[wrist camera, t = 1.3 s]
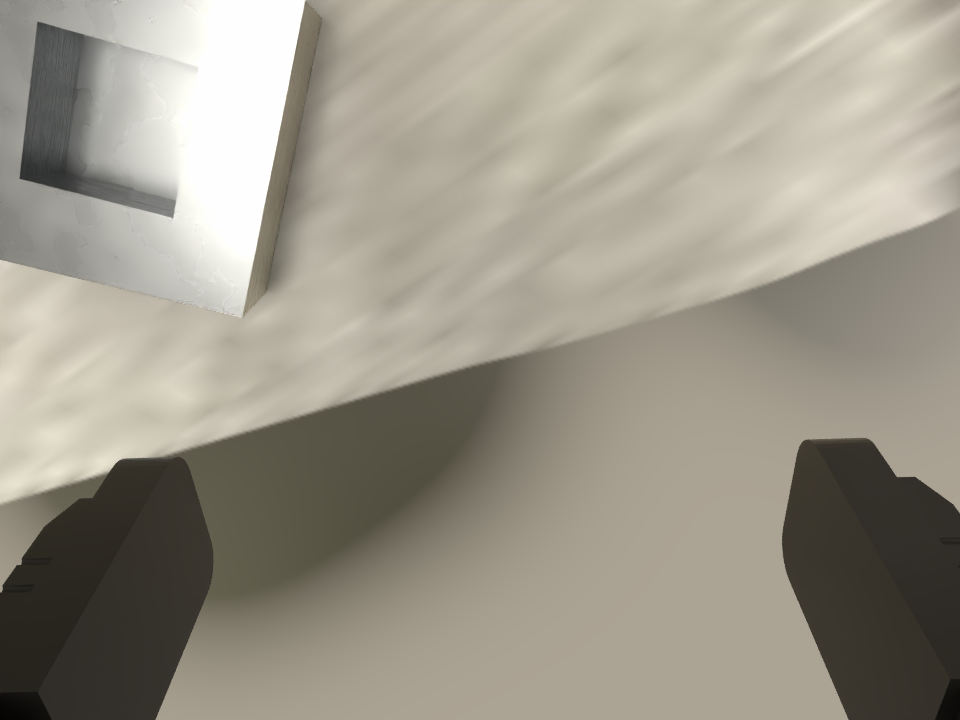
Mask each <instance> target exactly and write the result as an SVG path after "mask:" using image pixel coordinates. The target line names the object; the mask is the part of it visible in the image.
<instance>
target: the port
mask: <svg viewBox="0 0 960 720" xmlns="http://www.w3.org/2000/svg"><path fill="white" fill-rule="evenodd" d="M321 20H322V18H321V17H320V16H319V15H318V14H317V13H316V12H315V11H314V10H313V9H312V8H311V7H310V6H309V4H308V3H307V2H306V1H304V0H0V260H4V261H8V262H12V263H16V264H21V265H25V266H29V267H33V268H37V269H41V270H45V271H50V272H54V273H58V274H62V275H66V276H70V277H75V278H79V279H83V280H87V281H91V282H95V283H99V284H104V285H108V286H112V287H116V288H120V289H124V290H128V291H133V292H137V293H141V294H145V295H149V296H153V297H157V298H162V299H166V300H170V301H174V302H178V303H182V304H187V305H191V306H195V307H199V308H203V309H207V310H211V311H216V312H220V313H224V314H228V315H232V316H236V317H240V318H243V316H244V315H245V314H246V313H247V312H248V311H249V310H250V309H251V308H252V307H253V305H254V304H255V303H256V302H257V301H258V300H259V299H260V298H261V297H262V296H263V294H264V293H265V292H266V289H267V284H268V279H269V274H270V269H271V264H272V259H273V254H274V249H275V244H276V240H277V235H278V230H279V225H280V220H281V215H282V210H283V205H284V200H285V196H286V191H287V186H288V181H289V176H290V171H291V166H292V161H293V156H294V152H295V147H296V142H297V137H298V132H299V127H300V122H301V117H302V112H303V108H304V103H305V98H306V93H307V88H308V83H309V78H310V73H311V68H312V64H313V59H314V54H315V49H316V44H317V39H318V34H319V29H320V24H321Z"/></svg>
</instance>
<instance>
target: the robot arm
mask: <svg viewBox="0 0 960 720" xmlns="http://www.w3.org/2000/svg"><path fill="white" fill-rule="evenodd" d="M782 546H783V547H782V548H783V558H784V564H785V568H786V572H787V575H788V578H789V581H790V583H791V585H792V588H793V590H794V592H795V595H796V597H797V600H798V601H799V604H800V606H801V609H802V611H803V614H804V616H805V618H806V621H807V623H808V625H809V627H810V630H811V632H812V635H813V637H814V639H815V642H816V644H817V646H818V649H819V651H820V653H821V656H822V658H823V661H824V663H825V665H826V668H827V670H828V672H829V674H830V677H831V679H832V681H833V684H834V686H835V689H836V691H837V693H838V696H839V698H840V700H841V703H842V705H843V707H844V710H845V712H846V714H847V717H848V719H849V720H960V513H959V512H958V510H957V509H956V508H955V506H954V505H953V504H952V503H950V502H949V501H948V500H946V499H945V498H944V497H942V496H941V495H939V494H938V493H937V492H935V491H934V490H932V489H931V488H930V487H928V486H927V485H926V484H924V483H923V482H921V481H920V480H919V479H917V478H916V477H896V475H895V474H894V472H893V471H892V469H891V468H890V466H889V465H888V464H887V462H886V461H885V459H884V458H883V456H882V455H881V454H880V452H879V450H878V449H877V448H876V446H875V445H874V443H873V442H872V441H870V440H869V439H867V438H849V439H847V438H846V439H815V440H814V439H813V440H805V441H803V442H802V443H801V445H800V447H799V450H798V453H797V458H796V463H795V468H794V474H793V480H792V484H791V489H790V495H789V500H788V505H787V510H786V516H785V521H784V527H783V534H782ZM212 573H213V548H212V543H211V539H210V536H209V533H208V529H207V526H206V523H205V519H204V516H203V512H202V509H201V506H200V502H199V499H198V496H197V492H196V489H195V486H194V482H193V479H192V476H191V472H190V469H189V467H188V465H187V463H186V462H185V460H184V459H182V458H180V457H163V458H130V459H122V460H119V461H118V462H117V463H116V464H115V465H114V467H113V468H112V469H111V471H110V472H109V474H108V475H107V477H106V478H105V480H104V481H103V483H102V484H101V486H100V487H99V489H98V491H97V492H96V494H95V495H94V497H93V498H87V499H86V498H84V499H79V500H77V501H76V502H75V503H74V504H72V505H71V506H70V507H69V508H67V509H66V510H65V511H63V513H61V514H60V515H59V516H57V517H56V518H55V519H53V520H52V521H51V522H50V523H48V524H47V525H46V526H45V527H44V528H43V529H42V531H41V532H40V534H39V535H38V536H37V538H36V539H35V541H34V542H33V543H32V545H31V546H30V548H29V549H28V550H27V552H26V553H25V555H24V556H23V557H22V564H21V565H17V566H16V567H15V569H14V570H13V572H12V573H11V574H10V576H9V577H8V579H7V580H6V582H5V583H4V584H3V591H2V593H0V720H155V719H156V717H157V715H158V712H159V710H160V707H161V705H162V702H163V700H164V697H165V695H166V693H167V690H168V688H169V685H170V683H171V680H172V678H173V676H174V673H175V671H176V668H177V666H178V663H179V661H180V658H181V656H182V654H183V651H184V649H185V646H186V644H187V642H188V639H189V637H190V634H191V632H192V629H193V627H194V625H195V622H196V620H197V617H198V615H199V612H200V610H201V608H202V605H203V603H204V600H205V598H206V595H207V593H208V590H209V587H210V584H211V579H212Z"/></svg>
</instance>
